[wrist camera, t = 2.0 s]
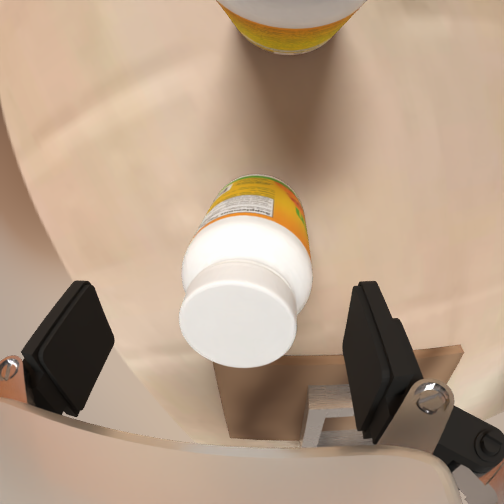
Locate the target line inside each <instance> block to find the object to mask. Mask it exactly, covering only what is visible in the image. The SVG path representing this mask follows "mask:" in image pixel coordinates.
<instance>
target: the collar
mask: <svg viewBox="0 0 504 504" xmlns="http://www.w3.org/2000/svg"><path fill="white" fill-rule="evenodd" d="M349 416H354V410H353V404H352V398H351V393H350V387H349V384H341V385H308V391H307V398H306V404H305V410H304V416H303V422H302V428H301V434H300V448H313V447H333V446H355V445H374V444H373V442H372V438H370V439H363V434H362V431H357V429H352V430H338V431H322V427H323V424H324V420H325V418H331V417H349Z"/></svg>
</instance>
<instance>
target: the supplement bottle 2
mask: <svg viewBox="0 0 504 504" xmlns="http://www.w3.org/2000/svg"><path fill="white" fill-rule="evenodd" d="M312 280H313V276H312V264H311V256H310V250H309V242H308V235H307V228H306V223H305V217H304V211H303V207H302V204H301V202H300V200H299V198H298V196H297V194H296V193H295V192H294V191H293V189H292V188H291V187H290V186H288V185H287V184H286V183H285V182H283V181H281V180H279V179H277V178H275V177H272V176H268V175H262V174H251V175H245V176H242V177H239V178H237V179H235V180H233V181H231V182H230V183H229V184H227V185H226V186H225V187H224V188H223V189H222V190H221V191H220V193H219V194H218V195H217V197H216V199H215V200H214V202H213V203H212V205H211V207H210V209H209V210H208V212H207V214H206V216H205V218H204V219H203V221H202V223H201V225H200V226H199V228H198V230H197V232H196V233H195V235H194V237H193V239H192V241H191V242H190V244H189V246H188V249H187V251H186V253H185V256H184V259H183V263H182V284H183V288H184V291H185V294H186V295H185V297H184V300H183V303H182V305H181V308H180V312H179V324H180V329H181V332H182V334H183V336H184V338H185V340H186V341H187V343H188V344H189V345H190V346H191V347H192V348H193V349H194V350H195V351H196V352H197V353H199V354H200V355H202V356H203V357H205V358H207V359H208V360H210V361H213V362H215V363H218V364H221V365H224V366H229V367H236V368H252V367H259V366H263V365H266V364H269V363H271V362H273V361H275V360H277V359H279V358H280V357H281V356H283V355H284V354H285V353H286V352H287V351H288V350H289V349H290V347H291V346H292V344H293V342H294V340H295V336H296V331H297V315H298V314H299V313H300V311H301V310H302V309H303V307H304V306H305V304H306V303H307V300H308V298H309V295H310V292H311V288H312Z"/></svg>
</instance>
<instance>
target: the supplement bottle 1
mask: <svg viewBox="0 0 504 504" xmlns="http://www.w3.org/2000/svg"><path fill="white" fill-rule="evenodd" d="M216 1H217V2H218V3H219V5H220V6H221V7H222V8H223V10H224V11H225V12H226V14H227V15H228V16H229V18H230V19H231V21H232V22H233V23H234V25H235V26H236V27H237V29H238V30H239V31H240V33H241V34H242V35H243V36H244V37H245V38H246V39H247V40H248V41H249V42H251V43H252V44H253V45H255V46H257V47H259V48H260V49H263V50H265V51H267V52H271V53H274V54H280V55H298V54H304V53H307V52H310V51H313V50H315V49H317V48H319V47H321V46H322V45H324V44H325V43H326V42H327V41H329V40H330V39H331V38H332V37H333V35H334V34H335V33H336V32H337V31H338V30H339V29H340V28H341V27H342V26H343V25H344V24H345V23H346V22H347V21H348V20H349V19H350V18H351V16H352V15H353V14H354V13H355V12H356V11H357V10H358V9H359V8H360V7H361V6H362V5H363V4H364V3H365V2H366V1H367V0H216Z"/></svg>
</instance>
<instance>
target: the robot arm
mask: <svg viewBox="0 0 504 504" xmlns="http://www.w3.org/2000/svg"><path fill="white" fill-rule="evenodd" d="M113 345H114V335H113V333H112V331H111V328H110V326H109V324H108V321H107V319H106V316H105V314H104V311H103V309H102V306H101V304H100V301H99V298H98V296H97V293H96V290H95V288H94V286H93V285H91V283H90V282H89V281H74V282H73V283H72V284H71V286H70V287H69V288H68V289H67V291H66V292H65V293H64V294H63V296H62V297H61V298H60V299H59V301H58V302H57V303H56V304H55V306H54V307H53V308H52V310H51V311H50V312H49V314H48V315H47V316H46V318H45V319H44V320H43V322H42V323H41V324H40V326H39V327H38V329H37V330H36V331H35V333H34V334H33V335H32V337H31V338H30V340H29V341H28V342H27V344H26V345H25V347H24V348H23V350H22V351H21V353H22V355H23V356H24V360H23V361H22V359H21V358H19V357H18V356H15V355H11V356H8V357H6V358H4V359H3V360H1V361H0V504H463V503H462V500H461V496H460V492H459V490H461V492H462V493H463V494H464V495H465V496H466V498H465V500H466V501H467V502H468V504H504V434H503V433H502V432H501V431H500V430H499V429H497V428H496V427H494V426H492V425H490V424H488V423H486V422H484V421H482V420H481V419H479V418H477V417H475V416H473V415H471V414H469V413H467V412H465V411H463V410H462V409H460V408H458V407H456V406H454V395H453V393H452V391H451V389H450V388H449V387H448V386H447V385H446V384H445V383H444V382H442V381H440V380H437V379H434V378H425V379H424V378H423V375H422V373H421V370H420V367H419V365H418V362H417V360H416V357H415V354H414V352H413V349H412V347H411V344H410V342H409V340H408V337H407V335H406V332H405V330H404V328H403V325H402V323H401V321H400V320H399V319H398V318H392V316H391V314H390V311H389V309H388V307H387V304H386V302H385V300H384V297H383V295H382V293H381V291H380V288H379V286H378V284H377V282H376V281H363V282H359V284H358V286H354V287H353V290H352V296H351V302H350V307H349V313H348V318H347V324H346V329H345V334H344V339H343V356H344V361H345V366H346V371H347V376H348V382H349V387H350V393H351V398H352V404H353V410H354V416H355V422H356V428H357V431H362V434H363V439H370V438H372V442H373V444H374V445H355V446H333V447H313V448H252V447H232V446H218V445H207V444H197V443H188V442H181V441H173V440H166V439H160V438H154V437H148V436H143V435H138V434H132V433H128V432H123V431H118V430H114V429H110V428H105V427H101V426H98V425H94V424H90V423H86V422H83V421H79V420H76V419H72V418H69V417H66V416H63V415H62V413H63V411H64V412H65V413H66V414H68V415H71V416H74V417H77V416H78V414H79V412H80V410H83V408H84V406H85V404H86V402H87V400H88V397H89V395H90V393H91V391H92V388H93V387H94V384H95V382H96V380H97V378H98V376H99V374H100V372H101V370H102V368H103V366H104V364H105V362H106V360H107V357H108V355H109V353H110V351H111V349H112V347H113Z"/></svg>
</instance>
